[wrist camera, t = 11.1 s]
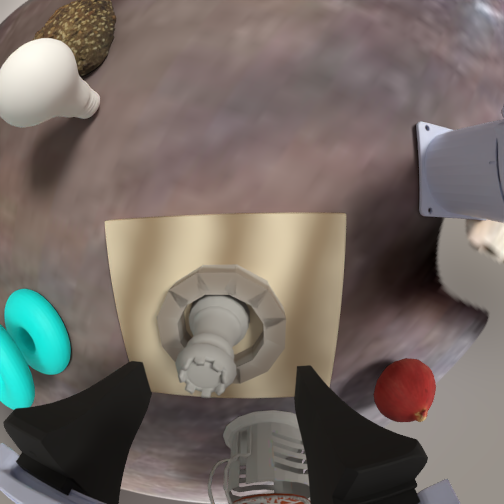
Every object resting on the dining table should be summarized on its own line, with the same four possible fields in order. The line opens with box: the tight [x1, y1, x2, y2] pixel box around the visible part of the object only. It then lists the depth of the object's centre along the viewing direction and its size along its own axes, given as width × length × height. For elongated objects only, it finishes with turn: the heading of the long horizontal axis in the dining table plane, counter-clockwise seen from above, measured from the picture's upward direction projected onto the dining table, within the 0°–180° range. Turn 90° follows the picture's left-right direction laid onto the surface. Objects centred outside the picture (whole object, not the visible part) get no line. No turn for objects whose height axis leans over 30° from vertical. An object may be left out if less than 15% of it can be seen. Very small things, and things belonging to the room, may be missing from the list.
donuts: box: [0, 289, 71, 410], centre depth 17 cm, size 10×10×10 cm
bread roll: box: [32, 0, 116, 77], centre depth 14 cm, size 13×12×5 cm
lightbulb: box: [0, 38, 100, 127], centre depth 12 cm, size 6×6×11 cm
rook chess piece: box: [175, 295, 250, 398], centre depth 16 cm, size 4×4×8 cm
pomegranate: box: [374, 358, 436, 422], centre depth 18 cm, size 6×6×8 cm
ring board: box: [105, 213, 346, 398], centre depth 20 cm, size 18×16×3 cm
